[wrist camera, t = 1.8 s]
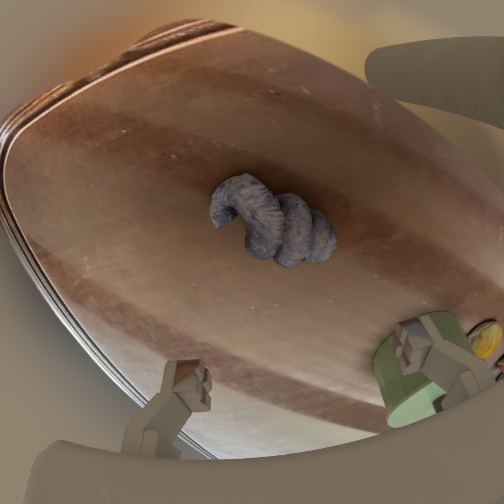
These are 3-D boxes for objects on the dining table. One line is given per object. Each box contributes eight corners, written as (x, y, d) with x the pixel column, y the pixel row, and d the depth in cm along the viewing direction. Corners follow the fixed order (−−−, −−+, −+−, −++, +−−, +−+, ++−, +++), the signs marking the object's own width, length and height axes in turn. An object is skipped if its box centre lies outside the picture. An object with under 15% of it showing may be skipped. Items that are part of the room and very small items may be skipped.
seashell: (211, 190, 22) (322, 226, 24) (194, 252, 20) (317, 286, 23) (228, 150, 17) (359, 200, 20) (206, 224, 15) (358, 270, 18)
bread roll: (479, 350, 37) (488, 366, 33) (450, 355, 36) (459, 373, 32) (504, 317, 32) (515, 333, 29) (478, 318, 31) (490, 337, 28)
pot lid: (500, 339, 22) (515, 364, 18) (459, 398, 30) (468, 419, 26) (399, 380, 23) (412, 414, 19) (375, 430, 31) (381, 455, 27)
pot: (467, 300, 29) (498, 346, 22) (440, 360, 36) (459, 401, 29) (380, 326, 30) (405, 386, 23) (366, 384, 37) (380, 431, 30)
